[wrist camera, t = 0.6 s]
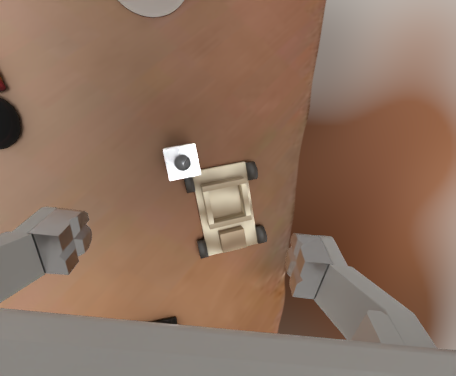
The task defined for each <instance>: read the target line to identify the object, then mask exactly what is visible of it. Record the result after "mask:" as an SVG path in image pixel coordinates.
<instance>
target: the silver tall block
mask: <svg viewBox="0 0 456 376" xmlns="http://www.w3.org/2000/svg"><path fill="white" fill-rule="evenodd" d="M163 153H164V158H165V163H166V167H167V172H168V176H169V181H173V180H178V179H183V178H188V177H193V176H198V175H201V171H200V166H199V161H198V156H197V150H196V145H195V143H188V144H182V145H176V146H170V147H165V148H163Z"/></svg>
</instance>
